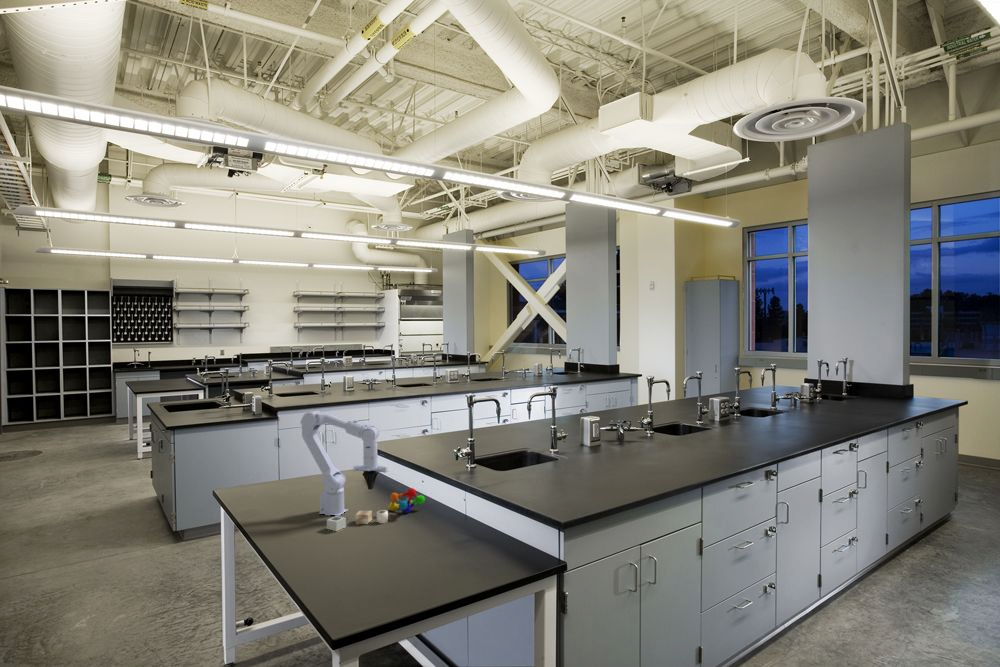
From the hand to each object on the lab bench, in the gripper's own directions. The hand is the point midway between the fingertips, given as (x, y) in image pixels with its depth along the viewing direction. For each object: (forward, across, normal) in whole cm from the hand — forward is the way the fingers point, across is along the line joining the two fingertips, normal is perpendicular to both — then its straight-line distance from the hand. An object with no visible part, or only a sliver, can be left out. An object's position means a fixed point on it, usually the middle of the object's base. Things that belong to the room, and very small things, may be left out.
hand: (370, 488), depth 230 cm
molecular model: (+11, +13, +6) cm, 18 cm away
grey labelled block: (+10, -5, -19) cm, 22 cm away
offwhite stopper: (+10, +9, -8) cm, 16 cm away
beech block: (+11, +2, -10) cm, 15 cm away
